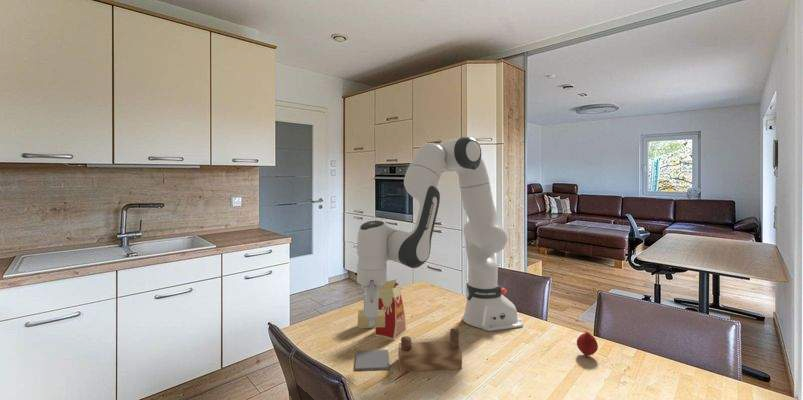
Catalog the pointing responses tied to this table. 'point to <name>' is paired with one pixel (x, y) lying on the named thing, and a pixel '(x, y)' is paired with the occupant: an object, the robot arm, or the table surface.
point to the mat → (372, 360)
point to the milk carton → (391, 311)
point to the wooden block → (364, 321)
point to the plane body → (430, 354)
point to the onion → (587, 344)
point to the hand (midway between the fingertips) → (371, 320)
